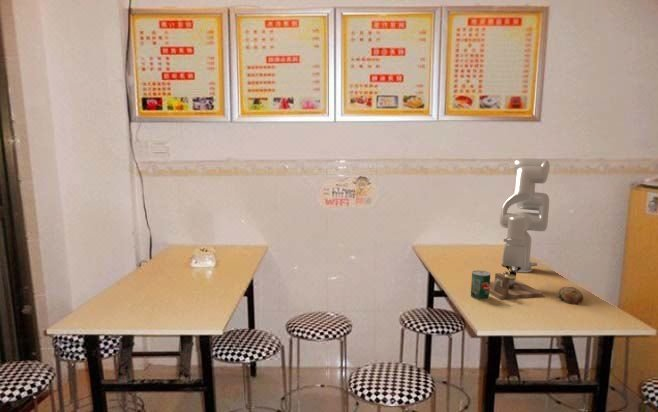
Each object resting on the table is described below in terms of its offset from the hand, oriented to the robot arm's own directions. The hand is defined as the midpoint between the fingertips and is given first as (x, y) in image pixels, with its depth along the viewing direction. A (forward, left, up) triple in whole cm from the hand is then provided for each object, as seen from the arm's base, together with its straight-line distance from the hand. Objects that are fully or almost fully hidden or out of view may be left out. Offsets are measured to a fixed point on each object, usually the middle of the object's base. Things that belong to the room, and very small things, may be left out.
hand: (512, 279), depth 227 cm
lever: (+3, +1, -1) cm, 4 cm away
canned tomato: (+24, +11, -3) cm, 27 cm away
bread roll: (-13, +23, -4) cm, 27 cm away
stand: (+6, +6, -3) cm, 9 cm away
